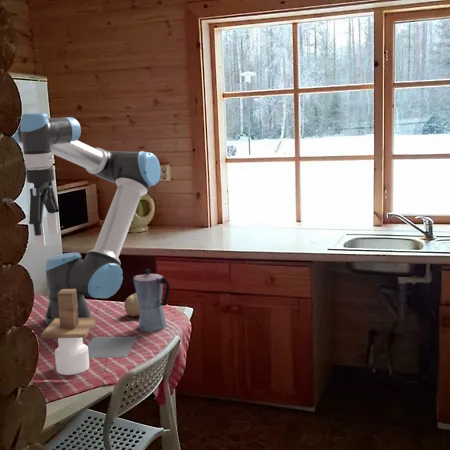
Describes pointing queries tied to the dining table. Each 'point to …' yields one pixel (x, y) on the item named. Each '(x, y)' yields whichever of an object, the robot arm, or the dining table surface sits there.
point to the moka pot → (151, 301)
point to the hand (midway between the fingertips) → (47, 240)
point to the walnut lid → (68, 318)
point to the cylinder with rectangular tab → (71, 356)
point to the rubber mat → (110, 346)
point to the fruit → (132, 305)
